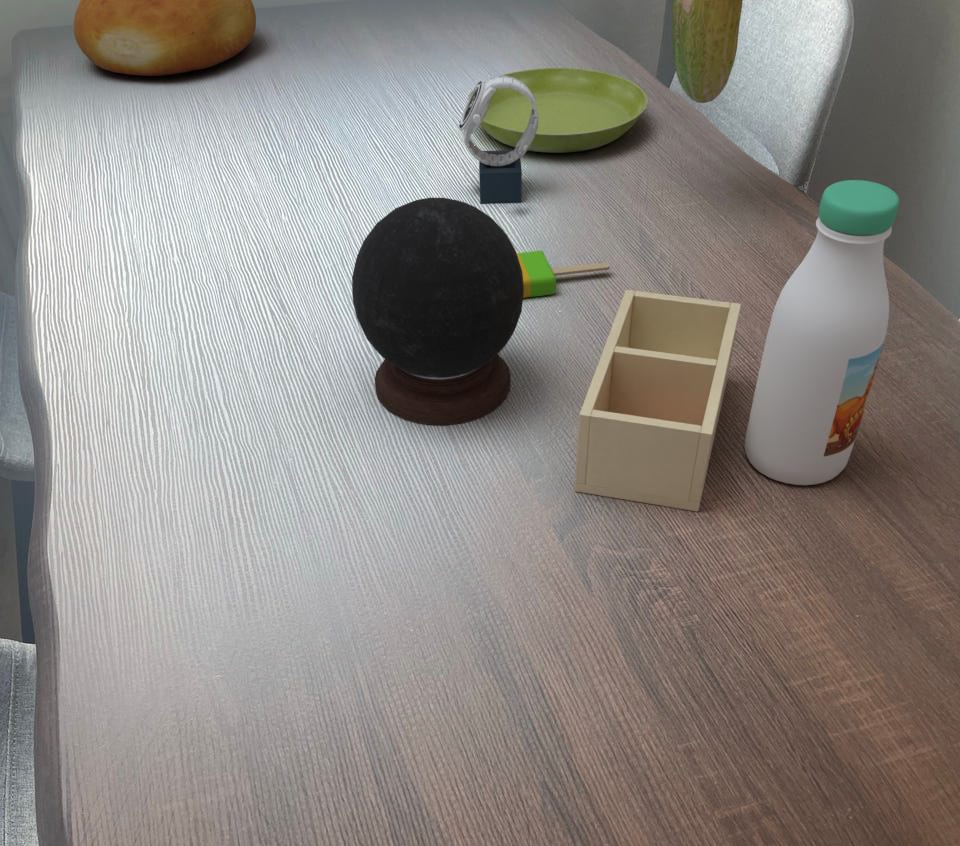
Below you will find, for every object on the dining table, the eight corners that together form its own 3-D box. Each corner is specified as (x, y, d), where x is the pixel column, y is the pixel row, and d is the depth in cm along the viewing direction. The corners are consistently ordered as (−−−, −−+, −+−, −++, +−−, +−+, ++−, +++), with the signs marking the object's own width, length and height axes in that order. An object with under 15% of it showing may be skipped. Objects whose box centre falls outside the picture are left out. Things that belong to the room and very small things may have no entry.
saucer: (681, 134, 118) (685, 104, 116) (537, 180, 111) (538, 150, 108) (571, 81, 130) (572, 53, 127) (434, 120, 122) (433, 91, 120)
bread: (98, 31, 146) (76, -51, 139) (263, 22, 147) (250, -60, 140) (73, 91, 131) (47, 2, 123) (257, 80, 132) (242, -9, 125)
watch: (461, 181, 111) (457, 70, 103) (535, 179, 111) (537, 68, 103) (461, 204, 107) (457, 91, 99) (538, 202, 107) (540, 89, 99)
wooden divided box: (727, 378, 85) (741, 303, 80) (698, 512, 73) (712, 434, 68) (618, 363, 86) (625, 289, 81) (574, 491, 75) (579, 414, 70)
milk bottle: (781, 500, 74) (849, 232, 59) (723, 441, 79) (772, 180, 64) (868, 471, 76) (955, 206, 61) (806, 416, 81) (873, 157, 66)
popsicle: (447, 277, 97) (446, 258, 95) (600, 261, 99) (602, 242, 97) (457, 307, 93) (456, 288, 92) (616, 289, 95) (618, 270, 93)
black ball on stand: (490, 446, 79) (488, 262, 68) (336, 414, 82) (310, 233, 71) (543, 357, 87) (548, 180, 76) (401, 331, 91) (386, 157, 79)
